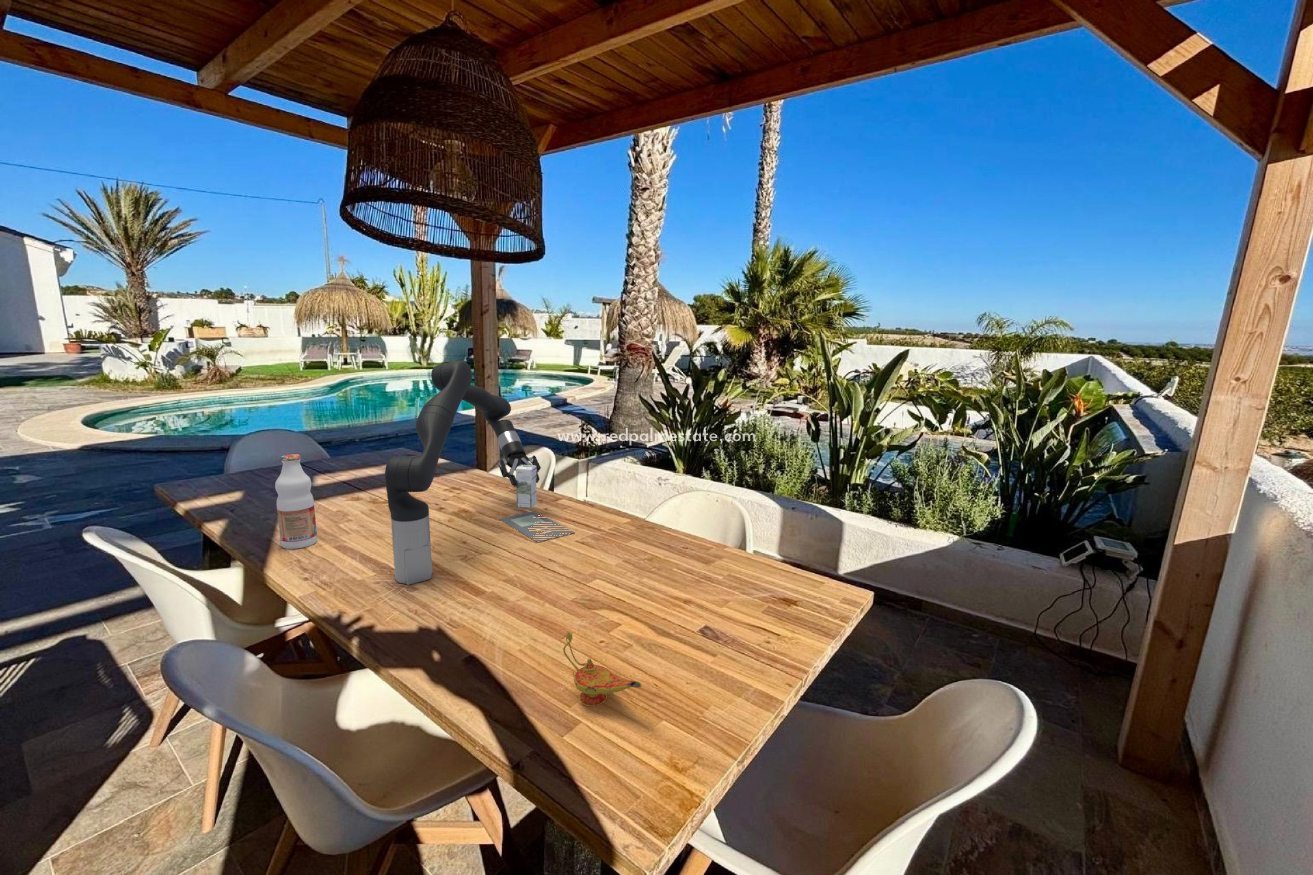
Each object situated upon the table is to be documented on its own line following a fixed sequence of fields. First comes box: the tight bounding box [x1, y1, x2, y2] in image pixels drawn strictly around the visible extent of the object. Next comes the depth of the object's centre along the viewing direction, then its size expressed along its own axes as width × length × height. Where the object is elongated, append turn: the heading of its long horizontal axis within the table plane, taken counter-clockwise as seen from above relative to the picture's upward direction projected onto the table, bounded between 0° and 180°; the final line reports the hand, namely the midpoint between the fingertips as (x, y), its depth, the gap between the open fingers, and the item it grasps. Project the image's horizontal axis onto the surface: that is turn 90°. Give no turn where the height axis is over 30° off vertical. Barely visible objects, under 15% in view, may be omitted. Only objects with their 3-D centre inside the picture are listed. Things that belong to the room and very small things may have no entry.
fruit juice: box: [274, 453, 318, 550], centre depth 161 cm, size 9×9×28 cm
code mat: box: [498, 511, 576, 542], centre depth 184 cm, size 28×14×1 cm, turn 41°
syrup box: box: [515, 465, 538, 509], centre depth 186 cm, size 6×6×14 cm
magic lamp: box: [562, 631, 642, 707], centre depth 95 cm, size 7×18×11 cm, turn 56°
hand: (526, 483), depth 186 cm, fingers closed on syrup box, 8 cm apart
